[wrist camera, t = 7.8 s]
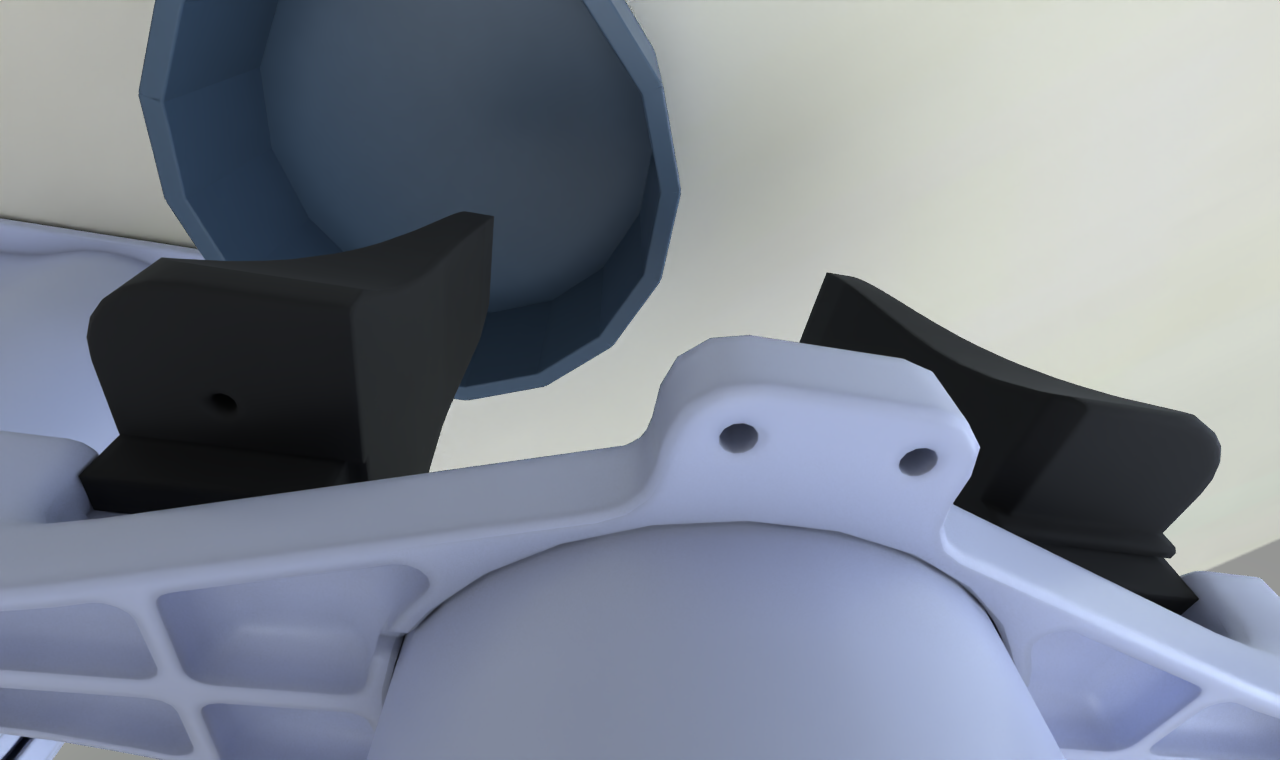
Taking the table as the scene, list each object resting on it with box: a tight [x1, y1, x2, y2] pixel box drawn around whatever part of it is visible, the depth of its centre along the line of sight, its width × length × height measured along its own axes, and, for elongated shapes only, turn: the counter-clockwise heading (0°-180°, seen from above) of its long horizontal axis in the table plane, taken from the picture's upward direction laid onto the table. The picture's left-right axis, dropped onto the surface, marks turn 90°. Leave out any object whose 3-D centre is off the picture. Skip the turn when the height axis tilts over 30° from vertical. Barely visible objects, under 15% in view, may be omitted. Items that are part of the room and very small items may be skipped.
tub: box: [139, 0, 681, 400], centre depth 17 cm, size 12×12×5 cm
